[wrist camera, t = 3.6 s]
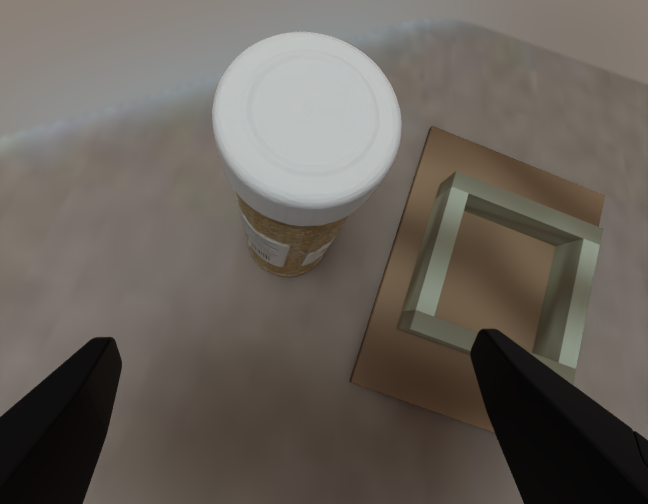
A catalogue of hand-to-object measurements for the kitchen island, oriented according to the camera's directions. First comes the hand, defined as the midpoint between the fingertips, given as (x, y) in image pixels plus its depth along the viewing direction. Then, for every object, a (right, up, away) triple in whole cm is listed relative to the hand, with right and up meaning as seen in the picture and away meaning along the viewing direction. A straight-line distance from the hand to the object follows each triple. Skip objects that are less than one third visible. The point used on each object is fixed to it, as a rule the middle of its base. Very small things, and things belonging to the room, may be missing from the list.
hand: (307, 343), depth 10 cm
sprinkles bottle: (-2, +3, +12) cm, 13 cm away
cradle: (+10, +1, +13) cm, 17 cm away
